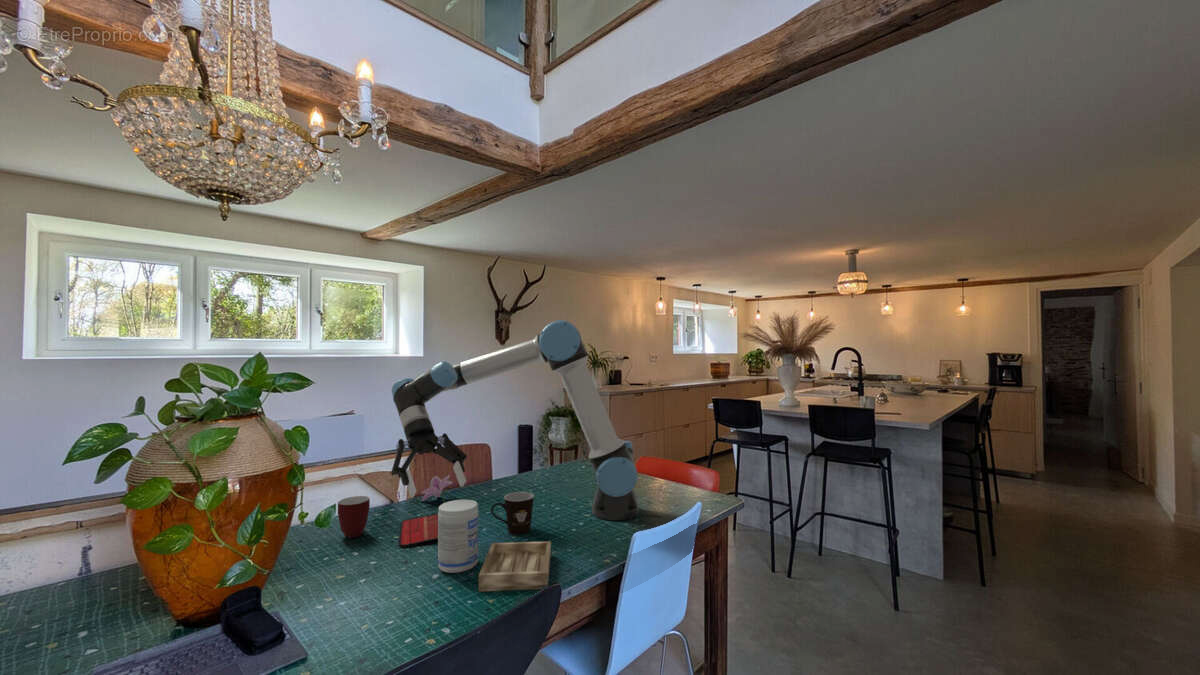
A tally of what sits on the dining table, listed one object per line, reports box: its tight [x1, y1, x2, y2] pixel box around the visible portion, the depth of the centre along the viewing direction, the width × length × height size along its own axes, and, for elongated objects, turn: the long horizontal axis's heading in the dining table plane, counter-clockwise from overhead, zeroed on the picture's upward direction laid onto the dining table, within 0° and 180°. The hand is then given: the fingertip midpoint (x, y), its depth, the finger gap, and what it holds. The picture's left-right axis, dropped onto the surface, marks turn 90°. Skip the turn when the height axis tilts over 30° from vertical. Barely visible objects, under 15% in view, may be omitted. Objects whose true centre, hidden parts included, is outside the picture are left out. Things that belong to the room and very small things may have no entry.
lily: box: [420, 474, 453, 503], centre depth 162 cm, size 12×12×10 cm
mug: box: [337, 495, 371, 538], centre depth 133 cm, size 11×8×10 cm
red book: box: [398, 513, 438, 549], centre depth 136 cm, size 16×2×21 cm
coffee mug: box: [490, 491, 535, 536], centre depth 135 cm, size 12×9×10 cm
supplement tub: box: [437, 499, 479, 574], centre depth 114 cm, size 10×10×15 cm
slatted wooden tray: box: [478, 540, 552, 593], centre depth 110 cm, size 15×17×4 cm
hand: (439, 489), depth 121 cm, fingers open, 13 cm apart
